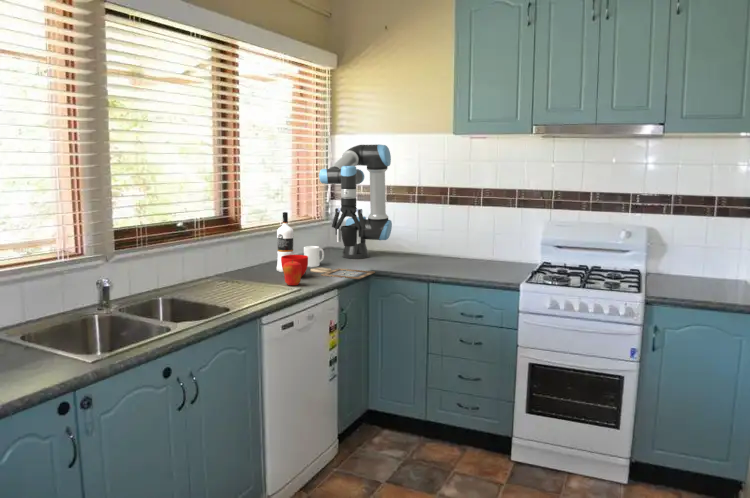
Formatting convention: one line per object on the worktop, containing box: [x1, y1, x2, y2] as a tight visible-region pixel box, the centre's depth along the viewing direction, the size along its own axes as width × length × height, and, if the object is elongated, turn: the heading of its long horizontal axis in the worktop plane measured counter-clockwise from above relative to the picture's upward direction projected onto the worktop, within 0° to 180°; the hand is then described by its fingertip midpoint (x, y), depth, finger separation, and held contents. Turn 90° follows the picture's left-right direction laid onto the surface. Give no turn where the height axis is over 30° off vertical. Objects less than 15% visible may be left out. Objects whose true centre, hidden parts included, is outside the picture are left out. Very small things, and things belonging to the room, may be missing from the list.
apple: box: [283, 259, 302, 286], centre depth 283 cm, size 9×8×12 cm
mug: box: [340, 225, 358, 247], centre depth 309 cm, size 8×12×10 cm
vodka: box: [276, 211, 295, 273], centre depth 315 cm, size 9×9×30 cm
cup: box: [303, 245, 325, 268], centre depth 334 cm, size 8×12×10 cm
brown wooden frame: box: [320, 267, 376, 280], centre depth 311 cm, size 19×21×1 cm
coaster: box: [309, 267, 333, 274], centre depth 320 cm, size 11×11×1 cm
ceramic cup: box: [281, 254, 308, 278], centre depth 303 cm, size 13×17×10 cm
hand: (348, 242), depth 309 cm, fingers closed on mug, 10 cm apart
